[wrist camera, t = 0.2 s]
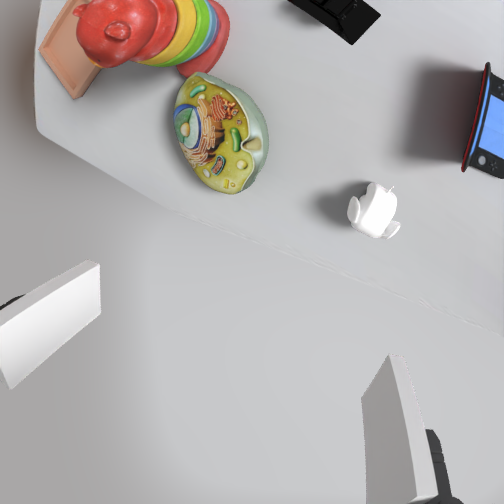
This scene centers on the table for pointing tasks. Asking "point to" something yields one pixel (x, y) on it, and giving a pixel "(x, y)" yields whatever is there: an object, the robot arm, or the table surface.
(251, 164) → the cell model
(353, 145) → the table surface
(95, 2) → the stacking bear
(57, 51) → the terracotta dish
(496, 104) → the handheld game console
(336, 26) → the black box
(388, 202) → the elephant figurine
